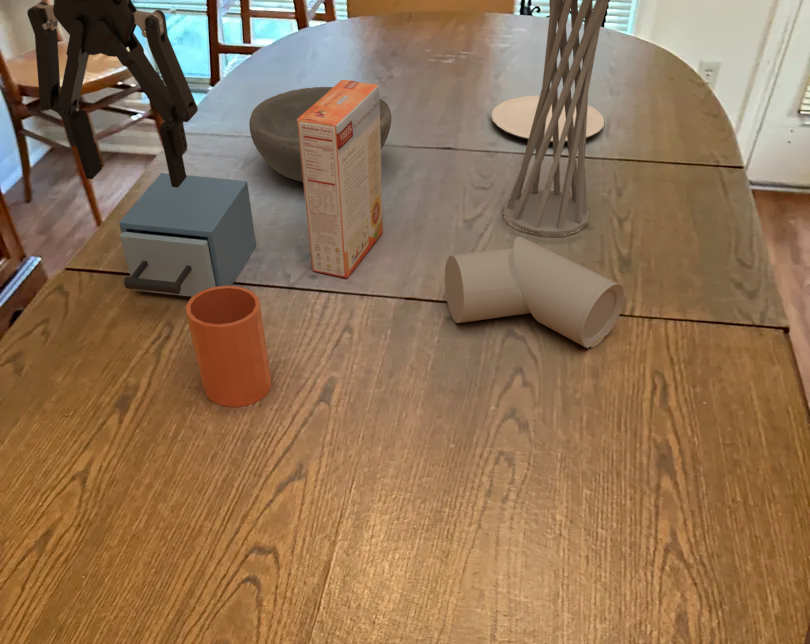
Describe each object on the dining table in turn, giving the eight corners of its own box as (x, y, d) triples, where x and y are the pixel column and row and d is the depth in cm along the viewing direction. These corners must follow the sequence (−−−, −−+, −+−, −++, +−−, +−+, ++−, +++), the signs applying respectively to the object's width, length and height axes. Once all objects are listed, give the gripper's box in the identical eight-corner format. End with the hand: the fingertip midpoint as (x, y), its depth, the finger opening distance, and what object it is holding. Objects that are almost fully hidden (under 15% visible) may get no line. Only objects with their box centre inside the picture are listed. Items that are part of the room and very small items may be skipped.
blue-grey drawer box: (224, 299, 107) (211, 231, 100) (136, 289, 108) (118, 222, 101) (256, 245, 116) (247, 180, 109) (175, 237, 118) (161, 172, 110)
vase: (535, 187, 129) (572, -77, 103) (605, 214, 124) (662, -59, 97) (485, 217, 123) (510, -58, 96) (556, 247, 117) (604, -37, 91)
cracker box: (347, 227, 120) (340, 76, 104) (384, 234, 119) (382, 83, 103) (308, 272, 112) (294, 115, 96) (347, 280, 110) (339, 123, 94)
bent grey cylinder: (575, 266, 111) (439, 283, 107) (596, 202, 102) (448, 219, 98) (620, 361, 103) (475, 383, 99) (647, 301, 94) (488, 323, 90)
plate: (565, 97, 155) (566, 88, 154) (625, 138, 143) (627, 128, 141) (471, 113, 149) (471, 103, 148) (525, 157, 137) (526, 147, 136)
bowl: (293, 135, 142) (288, 74, 135) (409, 155, 137) (410, 93, 129) (230, 188, 128) (220, 124, 120) (356, 214, 123) (354, 148, 115)
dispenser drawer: (200, 323, 101) (188, 268, 96) (116, 313, 103) (100, 258, 97) (245, 249, 114) (237, 196, 108) (171, 241, 115) (159, 188, 109)
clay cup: (194, 402, 92) (175, 321, 84) (217, 362, 98) (200, 282, 89) (260, 410, 92) (246, 330, 83) (279, 369, 97) (268, 289, 88)
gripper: (204, -60, 76) (238, 172, 93) (-11, -74, 78) (61, 155, 95) (176, -40, 71) (217, 201, 88) (-52, -55, 73) (31, 183, 90)
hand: (136, 177), depth 92 cm, fingers open, 10 cm apart
